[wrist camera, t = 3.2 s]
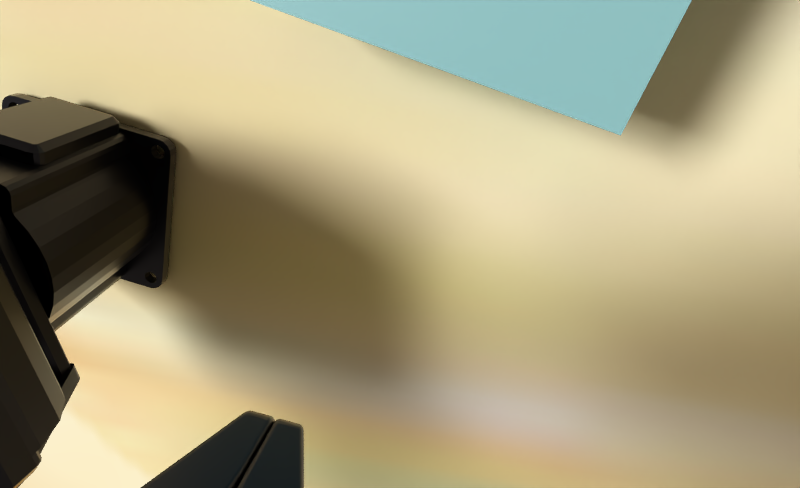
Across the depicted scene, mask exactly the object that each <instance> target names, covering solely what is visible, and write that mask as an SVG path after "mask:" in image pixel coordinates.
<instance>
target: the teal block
mask: <svg viewBox="0 0 800 488" xmlns="http://www.w3.org/2000/svg"><path fill="white" fill-rule="evenodd" d="M251 1H254V2H257V3H259V4H262V5H265V6H268V7H270V8H273V9H276V10H278V11H281V12H284V13H287V14H289V15H292V16H295V17H298V18H300V19H303V20H306V21H309V22H311V23H314V24H317V25H320V26H322V27H325V28H328V29H331V30H333V31H336V32H339V33H341V34H344V35H347V36H350V37H352V38H355V39H358V40H361V41H363V42H366V43H369V44H372V45H374V46H377V47H380V48H383V49H385V50H388V51H391V52H394V53H396V54H399V55H402V56H404V57H407V58H410V59H413V60H415V61H418V62H421V63H424V64H426V65H429V66H432V67H435V68H437V69H440V70H443V71H446V72H448V73H451V74H454V75H457V76H459V77H462V78H465V79H467V80H470V81H473V82H476V83H478V84H481V85H484V86H487V87H489V88H492V89H495V90H498V91H500V92H503V93H506V94H509V95H511V96H514V97H517V98H520V99H522V100H525V101H528V102H530V103H533V104H536V105H539V106H541V107H544V108H547V109H550V110H552V111H555V112H558V113H561V114H563V115H566V116H569V117H572V118H574V119H577V120H580V121H583V122H585V123H588V124H591V125H593V126H596V127H599V128H602V129H604V130H607V131H610V132H613V133H615V134H618V135H621V134H622V132H623V130H624V128H625V126H626V124H627V122H628V121H629V119H630V117H631V115H632V113H633V111H634V109H635V107H636V105H637V103H638V102H639V100H640V98H641V96H642V94H643V92H644V90H645V88H646V86H647V84H648V82H649V81H650V79H651V77H652V75H653V73H654V71H655V69H656V67H657V65H658V63H659V62H660V60H661V58H662V56H663V54H664V52H665V50H666V48H667V46H668V44H669V43H670V41H671V39H672V37H673V35H674V33H675V31H676V29H677V27H678V25H679V24H680V22H681V20H682V18H683V16H684V14H685V12H686V10H687V8H688V6H689V5H690V3H691V1H692V0H251Z"/></svg>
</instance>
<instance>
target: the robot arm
mask: <svg viewBox="0 0 800 488" xmlns="http://www.w3.org/2000/svg"><path fill="white" fill-rule="evenodd" d="M17 104H18V105H17ZM157 146H160V147H161V148H162V149H163V150H164V156H163V155H161V154H159V152H158V151H157ZM175 163H176V148H175V146H174V144H173V142H172V141H171V140H170V139H168V138H166V137H164V136H161V135H157V134H154V133H151V132H147V131H144V130H141V129H138V128H134V127H131V126H128V125H124V124H121V123H119V121H118V120H117V119H116V118H115V117H114V116H113V115H110V114H107V113H104V112H100V111H97V110H94V109H90V108H87V107H84V106H80V105H77V104H74V103H70V102H67V101H64V100H60V99H57V98H54V97H46V98H43V99H38V98H34V97H31V96H28V95H24V94H18V93H17V94H13V95H9V96H7V97H5V98H4V99H3V102H2V110H0V488H18V487H19V486H20V485H21V484H22V483H23V482H24V480H25V479H26V478H28V477H29V476H30V475H31V474H32V473H33V472H34V471H35V469H36V468H37V466H38V465H39V463H40V462H41V455H40V453H41V451H42V449H43V448H44V446H45V444H46V442H47V440H48V438H49V436H50V434H51V433H52V431H53V430H54V428H55V427H56V425H57V424H58V423H59V421H60V419H61V415H62V412H63V410H64V408H65V406H66V404H67V402H68V400H69V399H70V397H71V395H72V393H73V391H74V389H75V387H76V385H77V384H78V382H79V380H80V377H79V374H78V372H77V370H76V368H75V366H74V364H72V363H69V361H68V359H67V357H66V355H65V353H64V351H63V349H62V346H61V344H60V342H59V340H58V338H57V336H56V334H55V331H56V330H57V329H58V328H60V327H61V326H62V325H63V324H65V323H66V322H67V321H68V320H69V319H71V318H72V317H73V316H74V315H76V314H77V313H78V312H79V311H81V310H82V309H83V308H84V307H86V306H87V305H88V304H89V303H90V302H92V301H93V300H94V299H95V298H97V297H98V296H99V295H100V294H102V293H103V292H104V291H105V290H106V289H108V288H109V287H110V286H111V285H113V284H114V283H115V282H116V281H118V280H119V279H120V278H121V279H124V280H127V281H130V282H134V283H137V284H140V285H144V286H147V287H150V288H157V287H159V286H160V285H161V284H162V283H163V282H164V281H166V279H167V274H168V261H169V247H170V233H171V219H172V205H173V191H174V177H175ZM150 272H152V273H153V274H154V275H155V276H156V278H155V277H153V276H152V275H151V273H150ZM141 488H304V430H303V427H302V425H300V424H297V423H293V422H290V421H286V420H283V419H278V420H276V421H275V420H274V418H273V417H271V416H268V415H265V414H261V413H258V412H254V411H247V412H245V413H243V414H242V415H240V416H239V417H238V418H236V419H235V420H233V421H232V422H231V423H229V424H228V425H227V426H225V427H224V428H222V429H221V430H220V431H218V432H217V433H216V434H214V435H213V436H211V437H210V438H209V439H207V440H206V441H204V442H203V443H202V444H200V445H199V446H198V447H196V448H195V449H193V450H192V451H191V452H189V453H188V454H187V455H185V456H184V457H182V458H181V459H180V460H178V461H177V462H176V463H174V464H173V465H171V466H170V467H169V468H167V469H166V470H165V471H163V472H162V473H160V474H159V475H158V476H156V477H155V478H153V479H152V480H151V481H149V482H148V483H147V484H145V485H144V486H143V487H141Z"/></svg>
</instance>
